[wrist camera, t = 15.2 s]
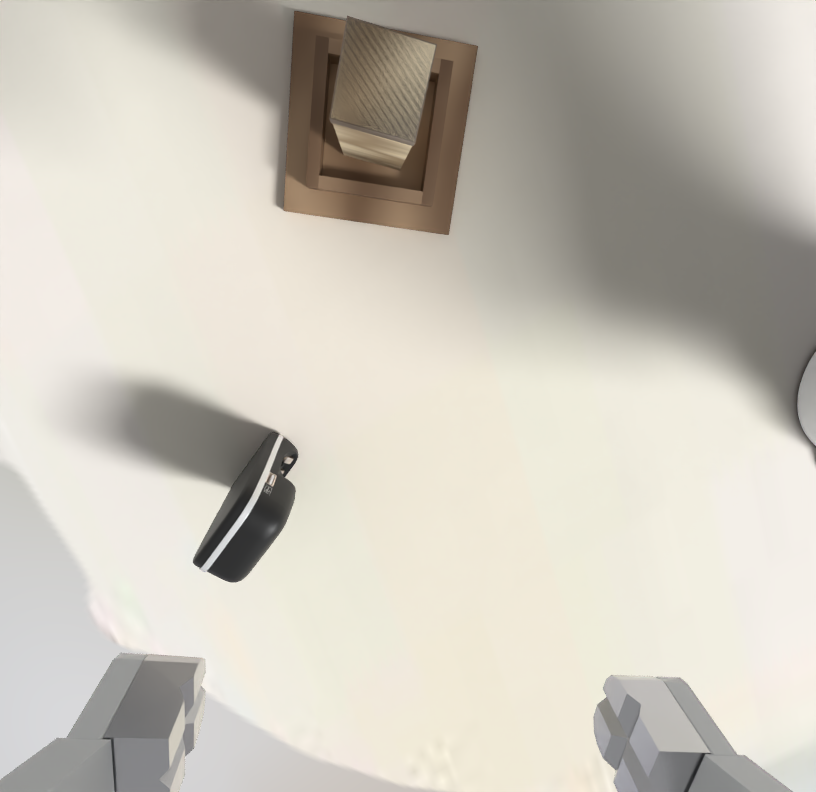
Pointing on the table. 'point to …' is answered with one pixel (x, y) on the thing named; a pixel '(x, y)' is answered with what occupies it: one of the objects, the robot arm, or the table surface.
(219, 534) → the battery charger
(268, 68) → the table surface
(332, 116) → the tall wooden pillar
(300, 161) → the dock
